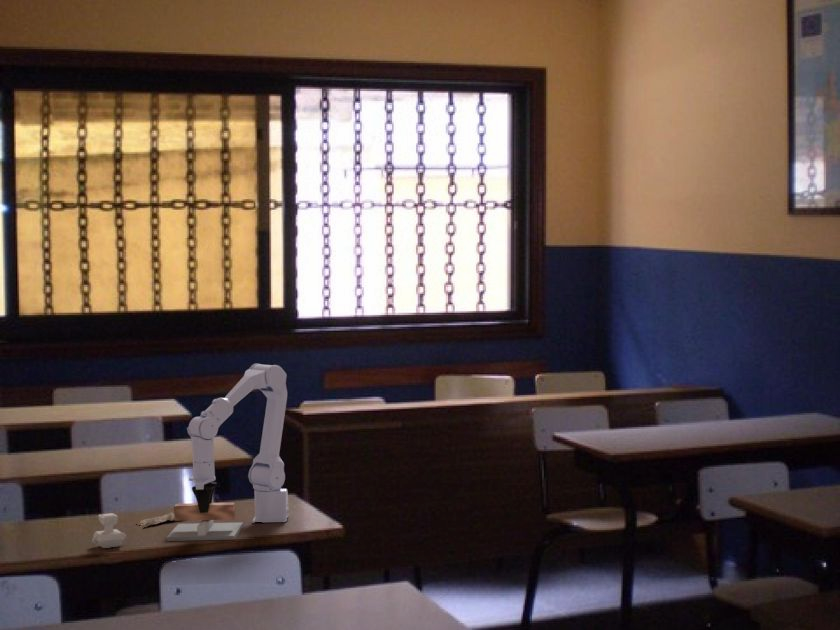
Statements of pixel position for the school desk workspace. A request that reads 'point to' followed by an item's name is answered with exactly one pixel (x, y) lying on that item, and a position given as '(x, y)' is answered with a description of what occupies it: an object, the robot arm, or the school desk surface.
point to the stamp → (108, 532)
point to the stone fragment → (157, 519)
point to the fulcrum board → (211, 535)
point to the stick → (214, 513)
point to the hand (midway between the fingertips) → (205, 511)
